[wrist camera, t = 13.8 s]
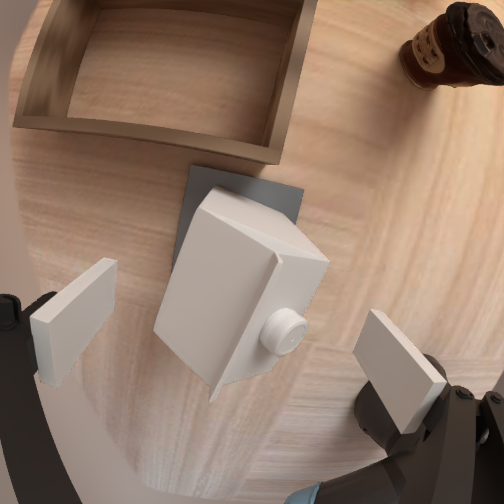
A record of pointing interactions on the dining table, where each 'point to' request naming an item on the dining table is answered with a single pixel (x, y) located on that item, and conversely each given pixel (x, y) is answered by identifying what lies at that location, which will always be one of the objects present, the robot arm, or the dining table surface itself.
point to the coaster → (246, 186)
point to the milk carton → (238, 290)
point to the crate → (57, 103)
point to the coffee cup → (457, 49)
